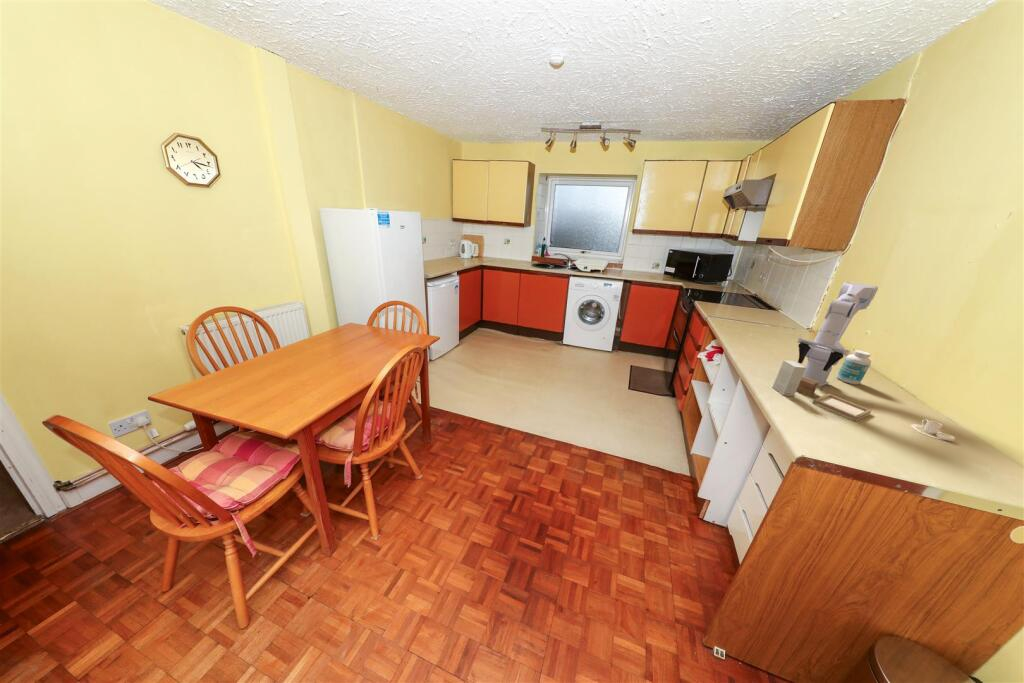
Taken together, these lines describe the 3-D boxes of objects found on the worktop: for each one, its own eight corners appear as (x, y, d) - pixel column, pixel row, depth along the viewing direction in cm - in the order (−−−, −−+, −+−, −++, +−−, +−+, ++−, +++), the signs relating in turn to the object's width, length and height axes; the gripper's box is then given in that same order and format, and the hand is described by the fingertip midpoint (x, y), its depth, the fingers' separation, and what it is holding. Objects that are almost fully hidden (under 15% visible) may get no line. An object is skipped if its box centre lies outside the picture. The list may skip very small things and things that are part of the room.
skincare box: (794, 396, 122) (807, 367, 118) (782, 395, 122) (795, 367, 118) (782, 388, 128) (794, 360, 123) (771, 387, 128) (782, 359, 123)
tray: (827, 396, 124) (828, 393, 123) (869, 413, 114) (871, 410, 114) (812, 403, 118) (814, 399, 118) (855, 421, 109) (857, 417, 108)
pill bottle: (832, 377, 141) (846, 349, 136) (841, 375, 143) (855, 347, 138) (854, 386, 134) (870, 356, 129) (863, 383, 137) (879, 354, 132)
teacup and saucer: (958, 445, 101) (966, 434, 99) (927, 439, 103) (934, 429, 101) (932, 428, 109) (939, 418, 107) (903, 423, 110) (910, 413, 109)
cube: (798, 387, 130) (803, 376, 128) (813, 393, 126) (819, 382, 124) (792, 389, 128) (797, 378, 126) (807, 395, 124) (813, 384, 122)
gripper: (801, 325, 123) (785, 358, 126) (852, 337, 111) (833, 373, 114) (808, 328, 127) (792, 360, 130) (858, 340, 115) (839, 375, 118)
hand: (811, 367), depth 122 cm, fingers open, 7 cm apart
